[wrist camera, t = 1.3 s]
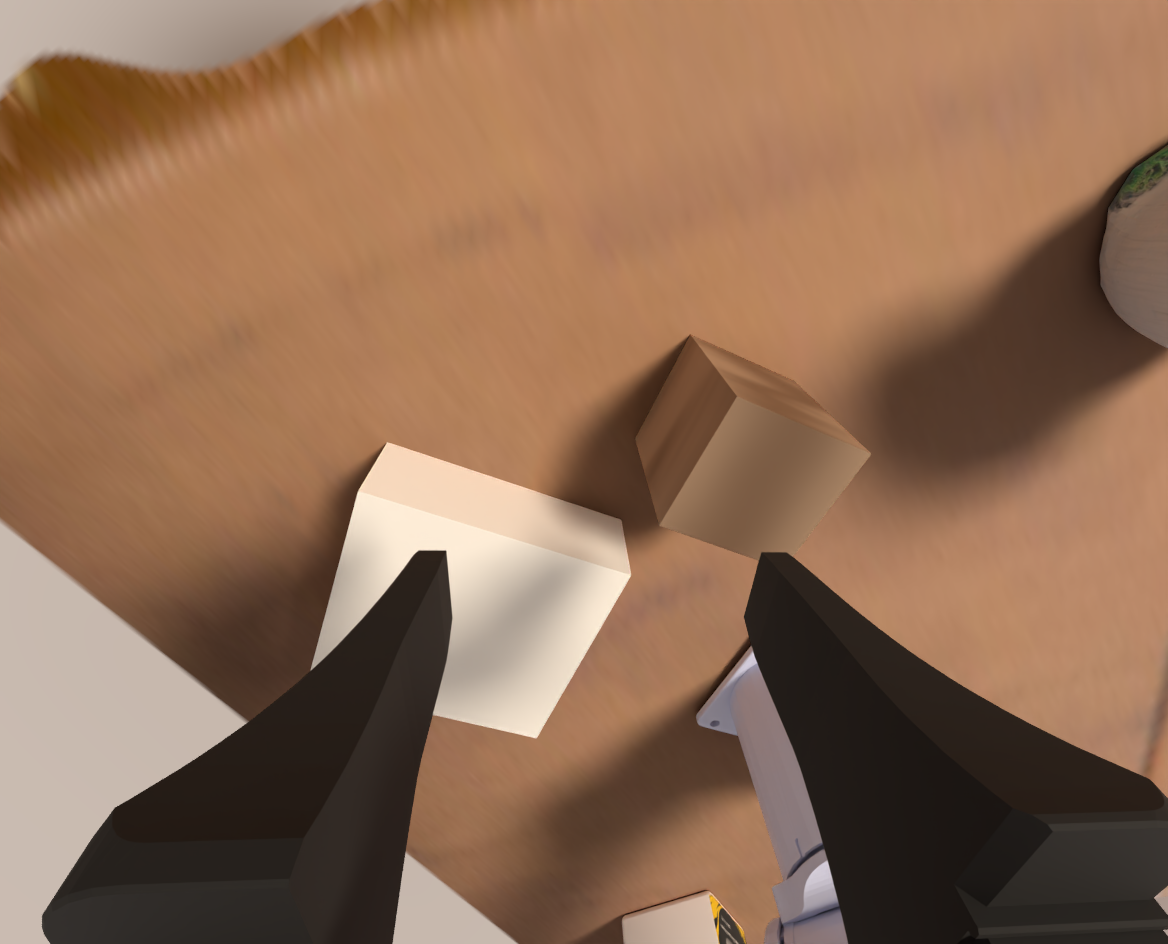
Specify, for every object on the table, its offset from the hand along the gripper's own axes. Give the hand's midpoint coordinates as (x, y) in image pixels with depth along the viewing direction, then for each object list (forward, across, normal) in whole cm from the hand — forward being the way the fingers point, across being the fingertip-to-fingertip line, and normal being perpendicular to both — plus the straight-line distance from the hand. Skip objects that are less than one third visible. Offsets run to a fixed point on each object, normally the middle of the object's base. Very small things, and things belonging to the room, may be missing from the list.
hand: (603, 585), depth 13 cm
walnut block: (+10, -5, 0) cm, 11 cm away
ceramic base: (+10, +4, +8) cm, 14 cm away
